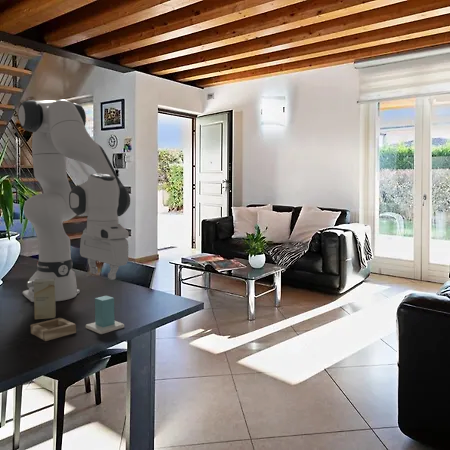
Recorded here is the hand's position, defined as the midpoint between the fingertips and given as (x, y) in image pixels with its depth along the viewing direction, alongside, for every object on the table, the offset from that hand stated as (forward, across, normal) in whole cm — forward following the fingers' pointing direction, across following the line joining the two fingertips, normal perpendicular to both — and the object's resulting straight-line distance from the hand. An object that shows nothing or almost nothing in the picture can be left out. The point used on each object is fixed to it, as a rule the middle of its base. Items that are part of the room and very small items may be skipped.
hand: (102, 276), depth 128 cm
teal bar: (+15, +1, 0) cm, 15 cm away
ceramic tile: (+16, +1, 0) cm, 16 cm away
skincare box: (+16, -22, -7) cm, 28 cm away
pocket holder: (+16, -6, -12) cm, 21 cm away
